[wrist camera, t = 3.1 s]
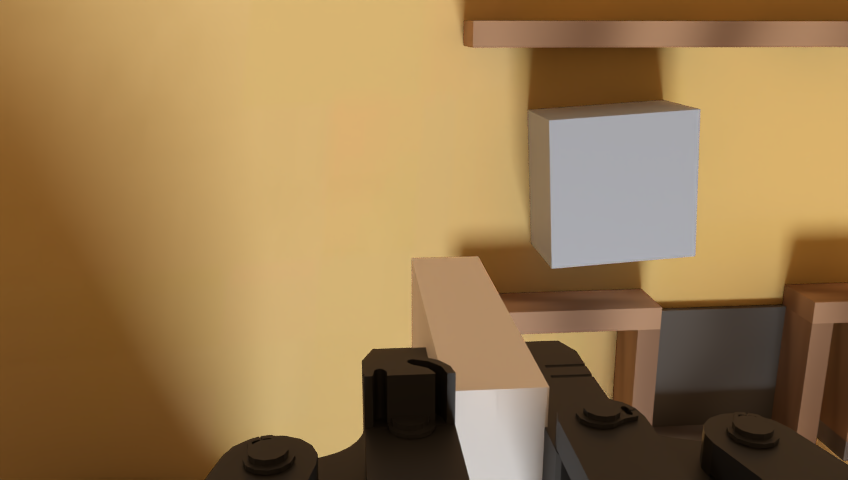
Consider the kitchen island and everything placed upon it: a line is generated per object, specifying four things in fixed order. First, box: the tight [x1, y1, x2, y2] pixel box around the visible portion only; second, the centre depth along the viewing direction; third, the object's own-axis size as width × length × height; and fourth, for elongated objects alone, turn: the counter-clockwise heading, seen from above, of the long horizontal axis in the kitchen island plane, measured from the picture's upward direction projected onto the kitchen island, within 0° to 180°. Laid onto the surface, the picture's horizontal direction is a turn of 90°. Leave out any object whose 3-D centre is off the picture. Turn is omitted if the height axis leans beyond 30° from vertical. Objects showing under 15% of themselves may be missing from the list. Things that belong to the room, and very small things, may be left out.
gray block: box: [528, 100, 700, 269], centre depth 33 cm, size 6×6×4 cm
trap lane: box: [464, 21, 848, 461], centre depth 35 cm, size 33×20×4 cm, turn 90°
